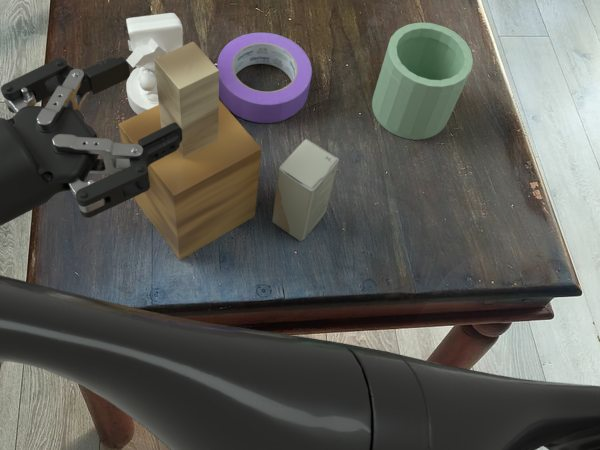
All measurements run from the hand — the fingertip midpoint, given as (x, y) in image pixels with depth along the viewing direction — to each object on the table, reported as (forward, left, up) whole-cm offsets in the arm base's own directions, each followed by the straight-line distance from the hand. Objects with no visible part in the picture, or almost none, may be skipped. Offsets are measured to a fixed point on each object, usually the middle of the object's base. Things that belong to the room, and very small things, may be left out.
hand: (152, 98), depth 60 cm
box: (-8, -13, -21) cm, 26 cm away
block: (0, -4, -8) cm, 9 cm away
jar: (-3, -35, -21) cm, 40 cm away
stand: (0, -4, -21) cm, 21 cm away
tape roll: (+10, -21, -21) cm, 31 cm away
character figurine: (+16, -10, -21) cm, 28 cm away
